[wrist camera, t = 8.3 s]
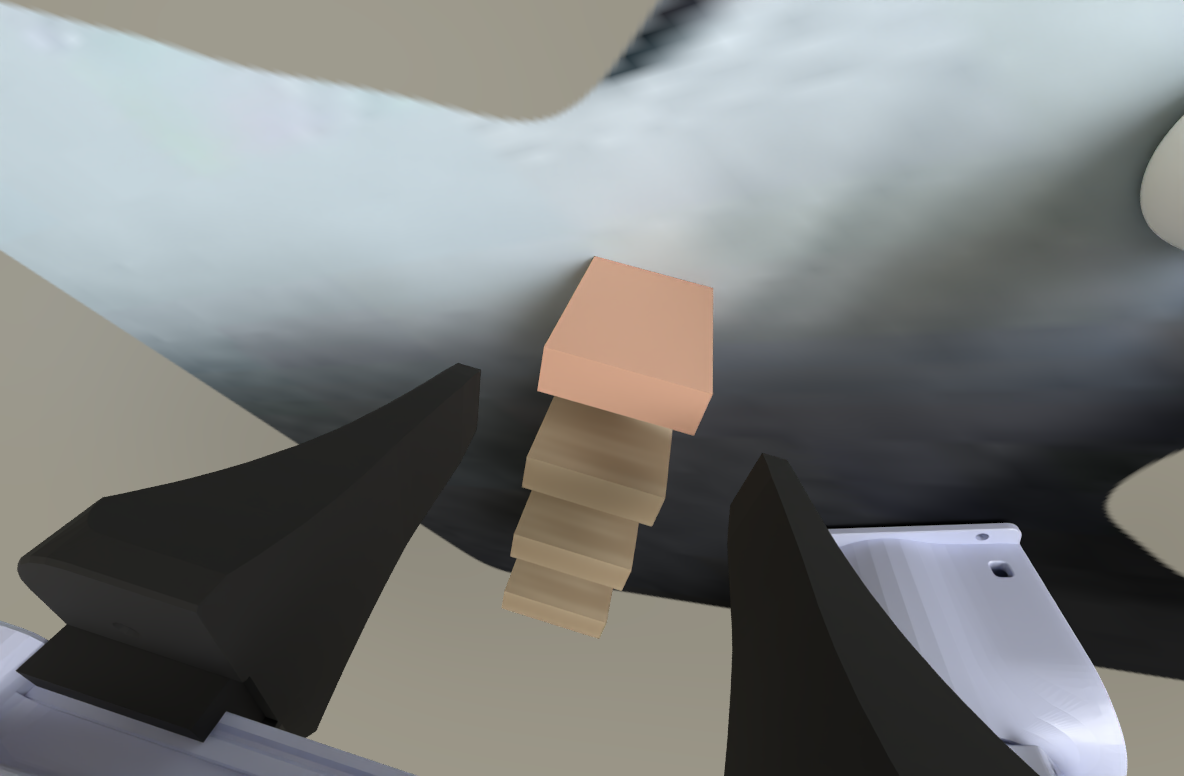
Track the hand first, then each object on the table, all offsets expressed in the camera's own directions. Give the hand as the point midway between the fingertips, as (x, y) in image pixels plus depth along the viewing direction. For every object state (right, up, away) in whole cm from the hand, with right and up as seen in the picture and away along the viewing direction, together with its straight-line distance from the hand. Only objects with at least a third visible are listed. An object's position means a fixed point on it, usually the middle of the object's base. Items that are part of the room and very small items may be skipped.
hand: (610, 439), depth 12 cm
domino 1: (+1, +2, +10) cm, 10 cm away
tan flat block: (0, -2, +13) cm, 13 cm away
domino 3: (-1, -5, +15) cm, 16 cm away
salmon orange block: (+2, +5, +7) cm, 9 cm away
